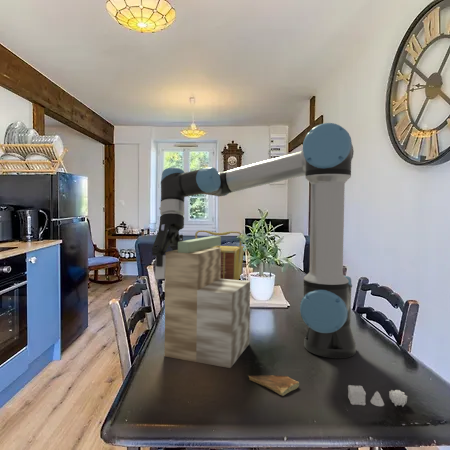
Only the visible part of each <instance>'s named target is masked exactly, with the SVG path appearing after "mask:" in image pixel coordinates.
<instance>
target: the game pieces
mask: <svg viewBox="0 0 450 450" xmlns="http://www.w3.org/2000/svg"><path fill="white" fill-rule="evenodd" d="M347 390H348V393H347V398H348V399H349V402H350V404H351V405H353V406H354V405H355V406H356V405H359V406H365V405H367V404H366V395H367V393H366V391H365V389H364V388H363V386H362V385H353V384H352V385H351V384H348V386H347ZM388 393H389V394H388V395H389V396H388V397H389V400H391V403H393V404H394V406H395V407H397V406H401V407H402V408H403V407H404V406H405V405H406V404H407V401H408V395H406V394H405V392H404V391H401V390H400V389H395V390H393V389H391V390H389V391H388ZM370 403H371V404H372V405H374V406H376V407H384V406H385V403H384V400H383V397H382V396H381V394H380V392H379V391H378V390H376V391H375V392H374V393H373V395H372V397H371V399H370Z"/></svg>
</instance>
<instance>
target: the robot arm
mask: <svg viewBox="0 0 450 450" xmlns="http://www.w3.org/2000/svg"><path fill="white" fill-rule="evenodd" d="M353 158H354V147H353V143H352V138H351V135H350V134H349V132H348V131H347V130H346V128H345V127H343V126H341V125H340V124H337V123H333V122H324V123H321V124H317V125H315V126H314V127H313V128H311V129H310V130H309V131H308V132H307V134H306V135H305V137H304V139H303V143H302V149H301V151H297V152H293V153H289V154H286V155H282V156H278V157H275V158H271V159H267V160H263V161H259V162H256V163H252V164H248V165H244V166H240V167H236V168H233V169H229V170H226V171H220V172H218V170H217V169H216V168H215V167H213V166H212V167H202V168H198V169H195V170H190V171H187V172H185V171H184V170H183V169H182V168H180V167H168V168H164V169H163V170H162V172H161V181H160V207H159V208H158V209H159V214H160V216H159V225H158V231H157V234H156V237H155V239H154V243H153V245H152V248H151V251H152V256H155V266H154V267H155V270H154V272H155V273H154V279H155V280H165V268H166V256H165V252H167V250H168V248H169V247H170V249H171V251H173V250H178V242H180V241H184V235H183V234H180V232H179V231H181V230H183V229H184V227H185V217H184V216H185V198H186V197H193V196H196V195H197V196H198V195H207V196H216V197H225V196H227V195H229V194H231V193H234V192H239V191H243V190H249V189H251V188H252V189H253V188H256V187H261V186H264V185H269V184H274V183H278V182H282V181H287V180H291V179H295V178H299V177H304V176H305V179H306V180H307V181H308V182H309V184H310V219H309V220H310V222H309V223H310V225H309V226H310V227H309V228H310V232H309V272H308V273H307V274H306V275H304V277H303V291H302V293H303V296H302V299H301V301H300V304H299V305H300V306H299V313H300V316H301V319H302V320H303V322H304V324H305V325H306V326H307V327H308V328H307V331H306V334H305V336H304V343H303V344H304V348H305V349H306V351H308V352H309V353H311V354H313V355H316V356H320V357H324V358H327V359H330V358H331V359H347V358H350V357H353V356H354V355H355V354H356V352H357V345H356V342H355V337H354V333H353V330H352V327H351V314H352V313H351V309H352V288H353V284H352V278H351V276H348V275H345V274H344V272H343V271H344V234H345V233H344V227H345V223H344V222H345V184H346V182H347V181H349V179H351V178H352V162H353V161H352V160H353Z"/></svg>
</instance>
